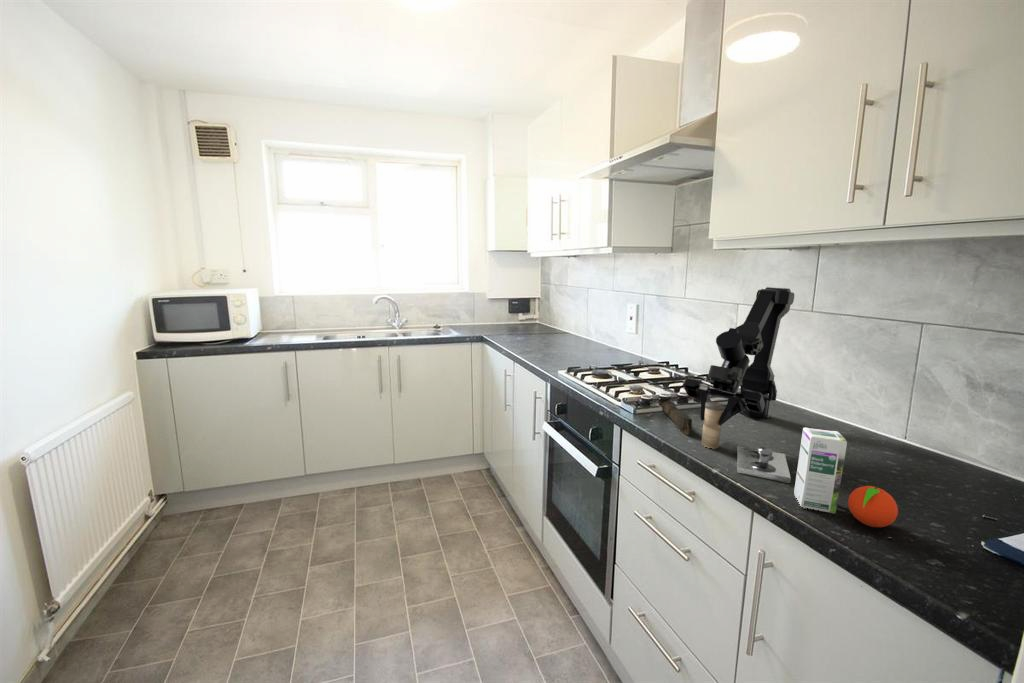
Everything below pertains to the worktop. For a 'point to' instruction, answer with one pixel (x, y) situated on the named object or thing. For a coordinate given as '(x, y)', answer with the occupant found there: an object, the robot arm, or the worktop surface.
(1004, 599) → the worktop surface
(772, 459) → the plate
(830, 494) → the syrup box
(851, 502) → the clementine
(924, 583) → the worktop surface
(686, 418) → the brown rough bar
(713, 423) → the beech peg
